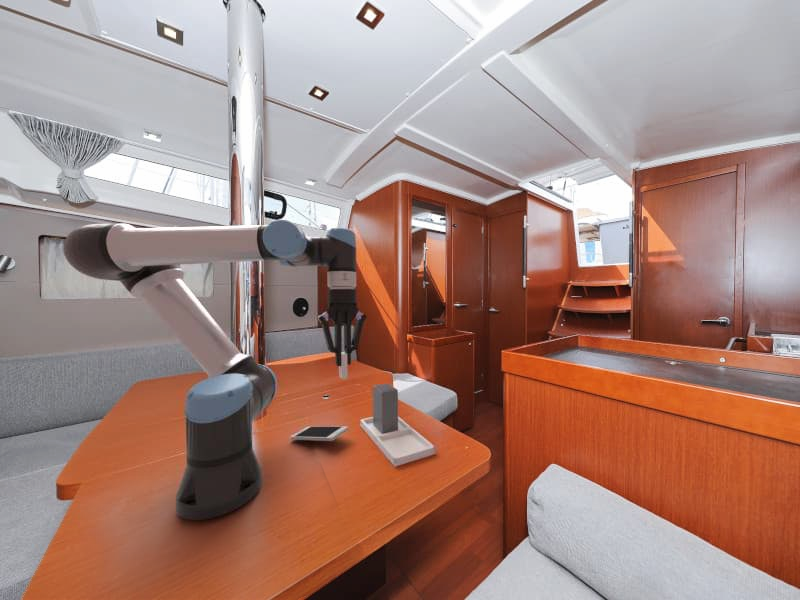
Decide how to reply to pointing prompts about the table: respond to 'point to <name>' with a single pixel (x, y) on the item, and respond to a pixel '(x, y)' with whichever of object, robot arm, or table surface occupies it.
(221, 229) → the robot arm
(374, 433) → the dock
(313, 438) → the smartphone
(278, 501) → the table surface
